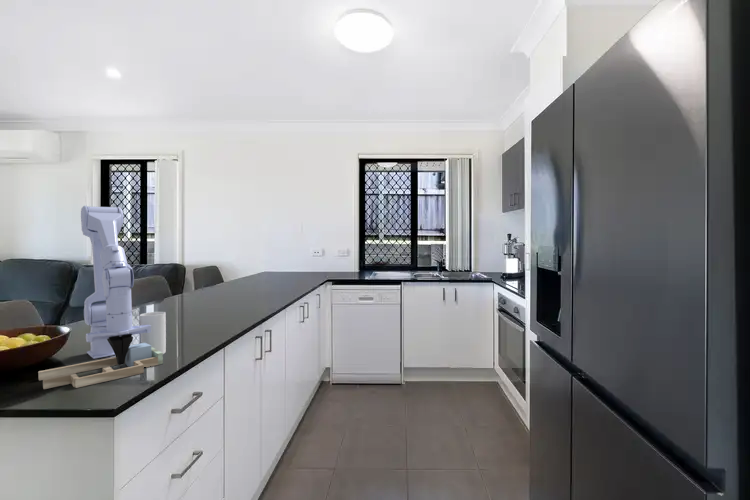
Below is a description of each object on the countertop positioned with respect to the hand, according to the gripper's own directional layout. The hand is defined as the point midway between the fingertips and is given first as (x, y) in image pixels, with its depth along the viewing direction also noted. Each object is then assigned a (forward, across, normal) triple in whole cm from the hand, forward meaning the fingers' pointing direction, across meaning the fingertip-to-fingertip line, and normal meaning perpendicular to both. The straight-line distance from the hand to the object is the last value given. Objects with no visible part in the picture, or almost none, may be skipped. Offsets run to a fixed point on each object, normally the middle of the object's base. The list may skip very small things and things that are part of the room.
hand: (120, 363), depth 106 cm
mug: (+1, +11, +10) cm, 15 cm away
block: (+1, +4, 0) cm, 4 cm away
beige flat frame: (+1, -4, -2) cm, 5 cm away
